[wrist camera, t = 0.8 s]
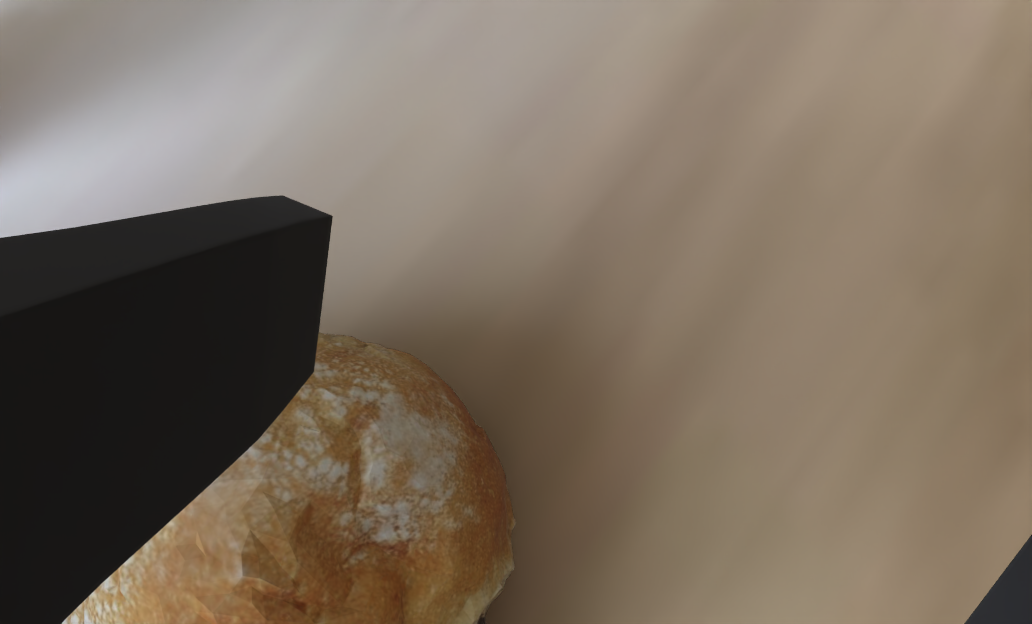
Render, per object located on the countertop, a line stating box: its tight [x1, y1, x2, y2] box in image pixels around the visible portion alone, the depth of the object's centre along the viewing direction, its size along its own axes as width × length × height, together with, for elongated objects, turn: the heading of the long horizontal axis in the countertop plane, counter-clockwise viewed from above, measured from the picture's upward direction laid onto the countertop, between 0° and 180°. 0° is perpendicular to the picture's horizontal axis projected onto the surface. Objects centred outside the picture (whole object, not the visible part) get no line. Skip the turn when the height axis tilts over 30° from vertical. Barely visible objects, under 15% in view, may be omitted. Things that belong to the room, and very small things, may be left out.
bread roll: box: [62, 333, 516, 624], centre depth 20 cm, size 10×10×8 cm
